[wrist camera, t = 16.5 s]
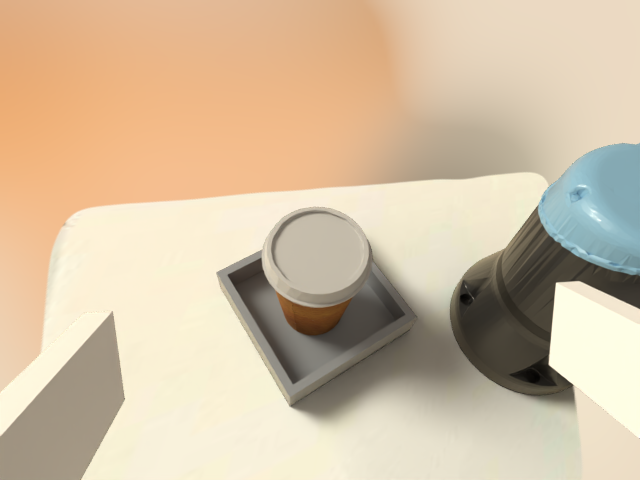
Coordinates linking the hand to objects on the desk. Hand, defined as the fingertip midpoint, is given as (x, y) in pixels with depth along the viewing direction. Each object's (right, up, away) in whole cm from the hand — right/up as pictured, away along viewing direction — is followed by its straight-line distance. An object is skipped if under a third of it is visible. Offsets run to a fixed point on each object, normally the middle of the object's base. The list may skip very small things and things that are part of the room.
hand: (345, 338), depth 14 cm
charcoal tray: (-1, -4, +36) cm, 36 cm away
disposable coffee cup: (-2, -4, +35) cm, 36 cm away
